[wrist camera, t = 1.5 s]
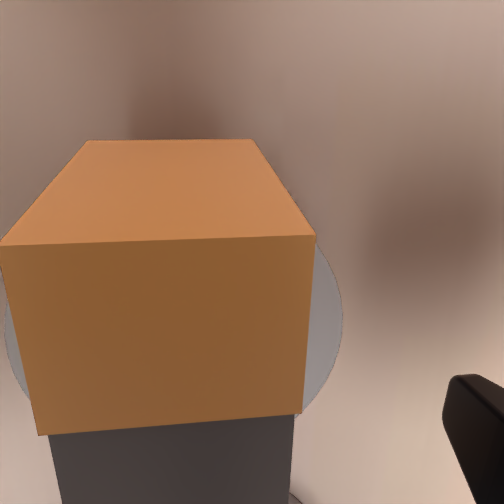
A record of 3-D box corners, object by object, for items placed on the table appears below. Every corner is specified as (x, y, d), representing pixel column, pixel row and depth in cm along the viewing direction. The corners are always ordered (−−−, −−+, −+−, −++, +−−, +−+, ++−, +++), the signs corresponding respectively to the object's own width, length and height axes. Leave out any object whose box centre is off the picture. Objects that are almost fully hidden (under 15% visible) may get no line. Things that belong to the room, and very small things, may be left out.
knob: (315, 435, 12) (397, 681, 8) (52, 459, 11) (-37, 752, 7) (346, 126, 9) (518, 226, 4) (-19, 129, 8) (-277, 256, 4)
